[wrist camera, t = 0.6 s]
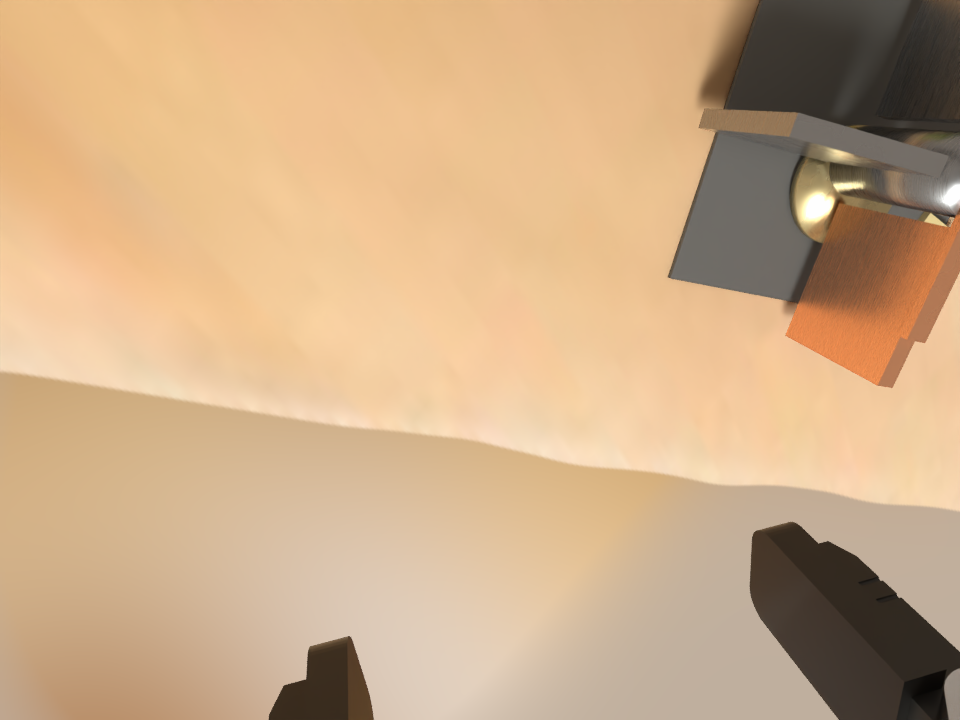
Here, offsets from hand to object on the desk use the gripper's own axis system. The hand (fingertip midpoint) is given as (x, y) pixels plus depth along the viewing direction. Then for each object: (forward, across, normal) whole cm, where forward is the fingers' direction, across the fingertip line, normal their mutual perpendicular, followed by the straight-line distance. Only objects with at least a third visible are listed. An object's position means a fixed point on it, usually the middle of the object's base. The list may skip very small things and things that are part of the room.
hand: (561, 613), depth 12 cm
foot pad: (+27, -27, -1) cm, 38 cm away
